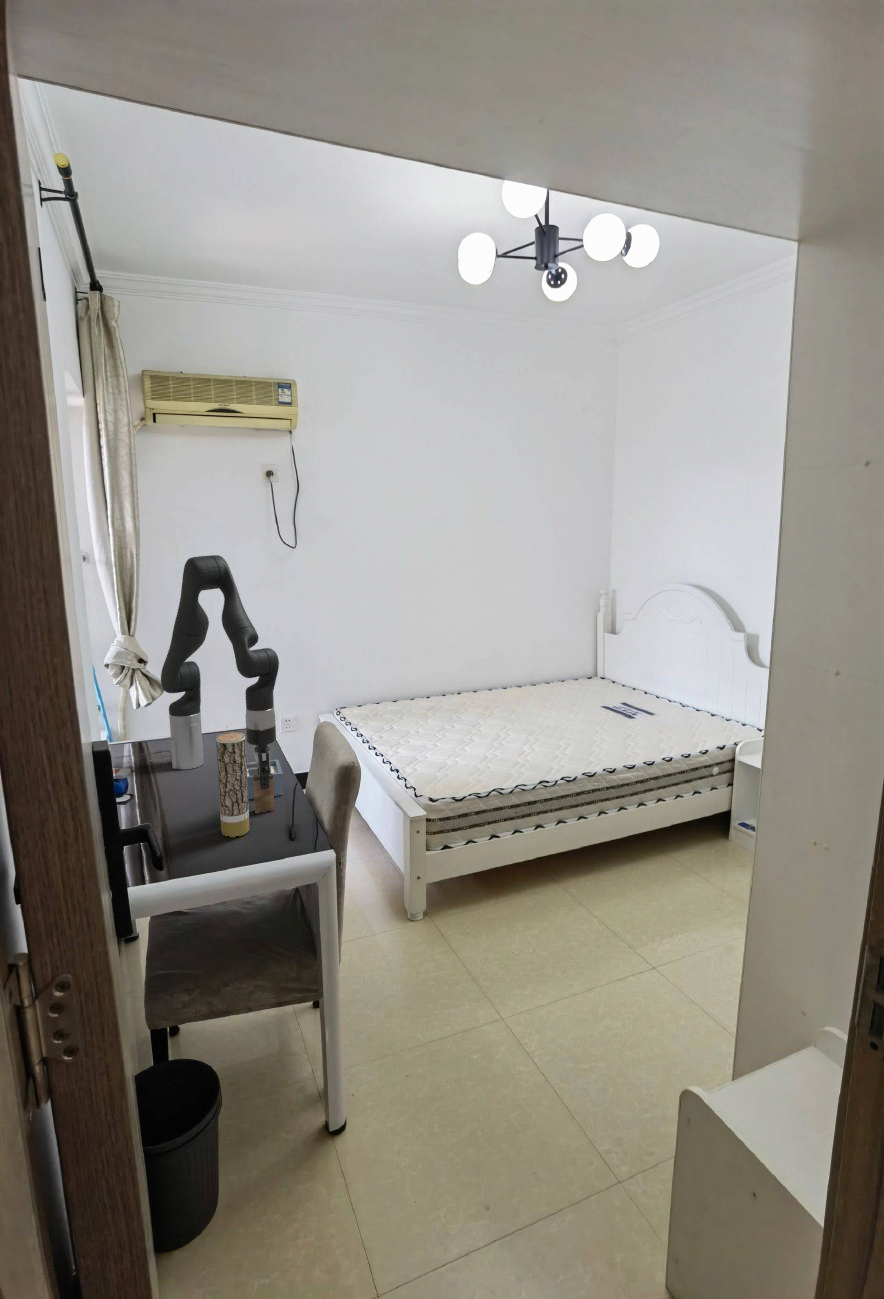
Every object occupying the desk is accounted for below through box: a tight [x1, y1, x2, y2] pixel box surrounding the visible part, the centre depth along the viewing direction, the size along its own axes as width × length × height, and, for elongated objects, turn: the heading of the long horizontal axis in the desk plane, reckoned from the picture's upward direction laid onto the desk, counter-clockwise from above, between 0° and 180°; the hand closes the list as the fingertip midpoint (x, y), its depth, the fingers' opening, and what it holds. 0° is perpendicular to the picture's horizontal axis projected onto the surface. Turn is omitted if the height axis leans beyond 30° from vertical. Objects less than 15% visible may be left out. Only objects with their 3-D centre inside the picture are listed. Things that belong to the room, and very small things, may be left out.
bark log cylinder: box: [215, 732, 250, 838], centre depth 169 cm, size 7×7×25 cm
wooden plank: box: [253, 773, 275, 814], centre depth 183 cm, size 5×2×10 cm, turn 109°
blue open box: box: [246, 759, 284, 800], centre depth 197 cm, size 12×12×8 cm
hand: (263, 782), depth 182 cm, fingers open, 8 cm apart
